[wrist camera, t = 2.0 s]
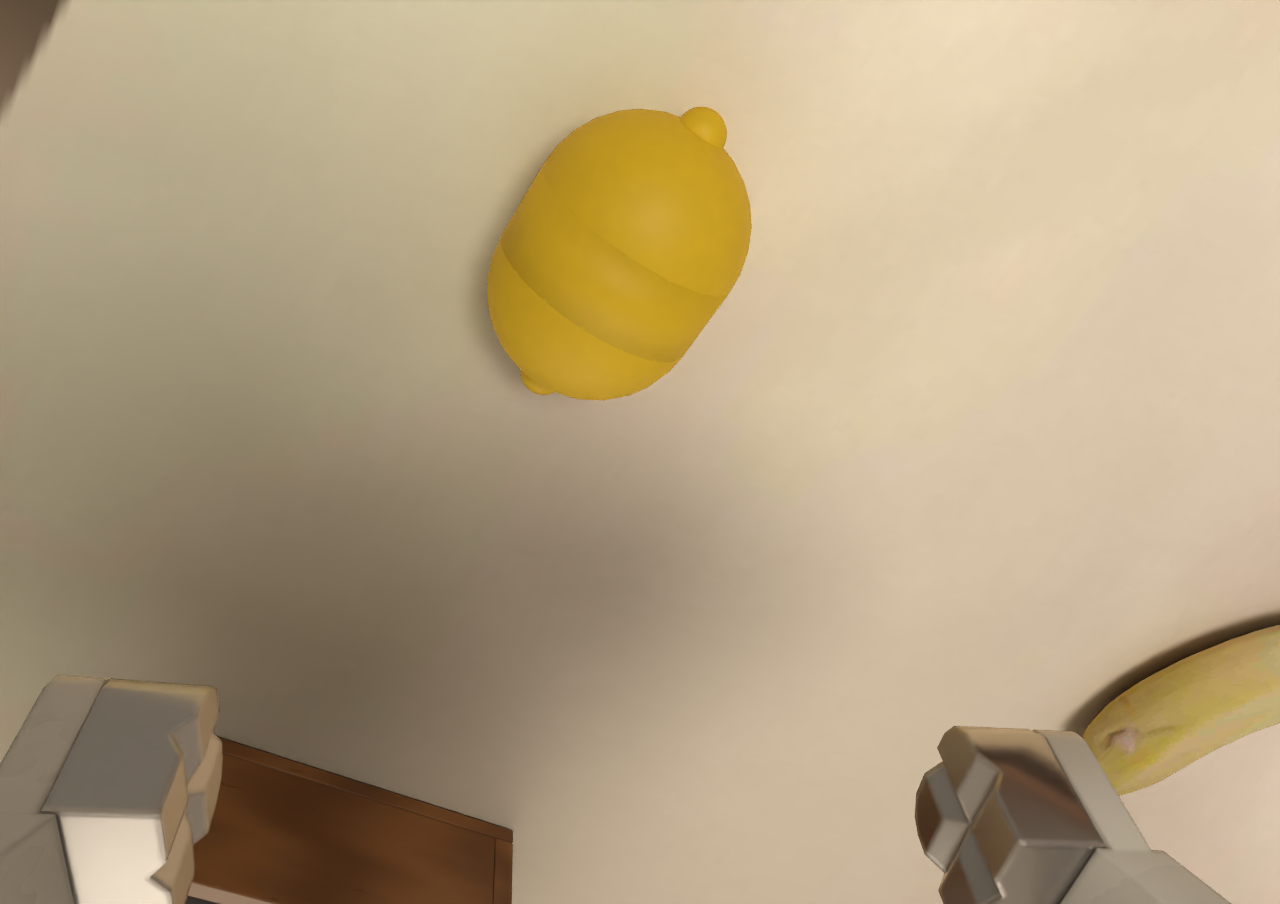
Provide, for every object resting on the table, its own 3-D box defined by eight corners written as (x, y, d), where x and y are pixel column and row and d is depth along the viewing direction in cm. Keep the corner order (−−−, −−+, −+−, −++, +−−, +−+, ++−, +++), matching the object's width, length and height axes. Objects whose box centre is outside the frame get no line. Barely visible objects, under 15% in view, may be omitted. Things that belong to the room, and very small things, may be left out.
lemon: (611, 385, 29) (625, 489, 25) (446, 298, 27) (429, 394, 23) (783, 141, 26) (835, 211, 21) (608, 22, 24) (626, 71, 19)
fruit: (1076, 635, 37) (1120, 702, 34) (1476, 567, 37) (1552, 629, 34) (1058, 758, 41) (1096, 828, 38) (1419, 698, 41) (1483, 763, 38)
